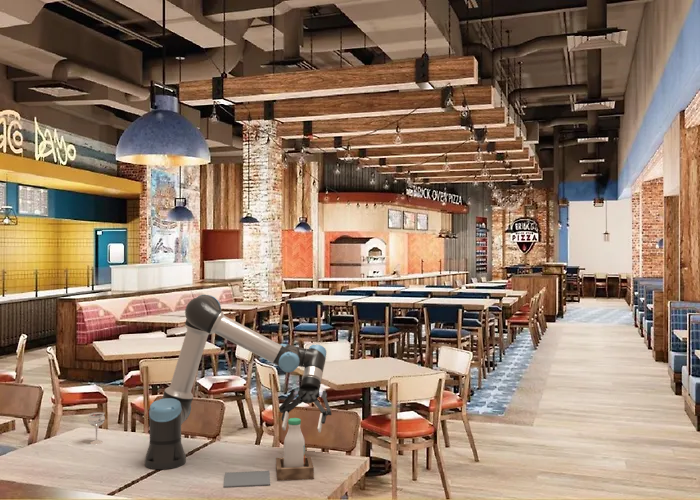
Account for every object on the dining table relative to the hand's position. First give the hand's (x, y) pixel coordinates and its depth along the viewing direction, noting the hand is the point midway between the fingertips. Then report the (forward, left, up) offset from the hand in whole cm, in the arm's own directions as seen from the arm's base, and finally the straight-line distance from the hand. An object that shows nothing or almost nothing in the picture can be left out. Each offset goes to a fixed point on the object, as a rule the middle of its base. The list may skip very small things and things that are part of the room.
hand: (301, 429), depth 256 cm
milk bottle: (-3, -4, -15) cm, 16 cm away
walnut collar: (-3, -4, -15) cm, 16 cm away
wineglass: (-83, +45, -15) cm, 95 cm away
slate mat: (-20, -8, -15) cm, 26 cm away
